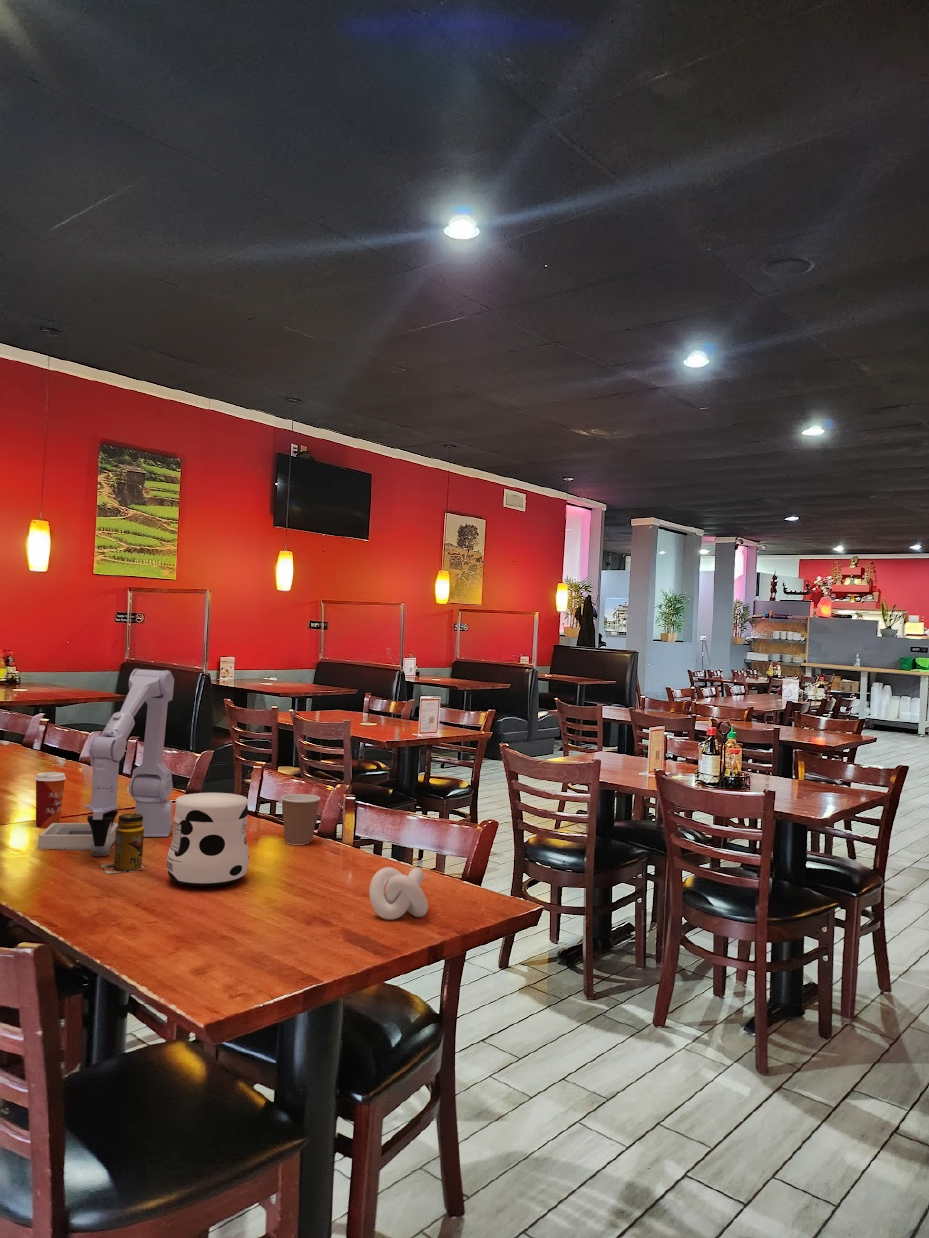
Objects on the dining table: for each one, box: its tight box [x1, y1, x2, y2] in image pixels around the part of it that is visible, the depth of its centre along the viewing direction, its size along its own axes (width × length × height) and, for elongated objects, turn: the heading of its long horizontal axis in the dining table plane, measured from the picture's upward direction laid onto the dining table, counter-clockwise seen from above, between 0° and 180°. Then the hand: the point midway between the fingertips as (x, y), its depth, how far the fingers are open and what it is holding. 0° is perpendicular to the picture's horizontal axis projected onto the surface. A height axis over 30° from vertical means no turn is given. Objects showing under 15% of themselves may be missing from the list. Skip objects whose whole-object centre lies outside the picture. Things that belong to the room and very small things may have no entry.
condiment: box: [100, 813, 147, 875], centre depth 194 cm, size 7×8×12 cm
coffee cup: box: [280, 793, 321, 846], centre depth 226 cm, size 10×10×12 cm
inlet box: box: [37, 822, 118, 851], centre depth 214 cm, size 16×14×4 cm
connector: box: [91, 822, 112, 857], centre depth 204 cm, size 4×4×8 cm
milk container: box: [166, 792, 250, 888], centre depth 187 cm, size 17×17×18 cm
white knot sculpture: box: [369, 866, 429, 921], centre depth 170 cm, size 11×12×9 cm
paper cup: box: [34, 771, 67, 829], centre depth 231 cm, size 8×8×14 cm
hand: (101, 843), depth 204 cm, fingers closed on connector, 4 cm apart
